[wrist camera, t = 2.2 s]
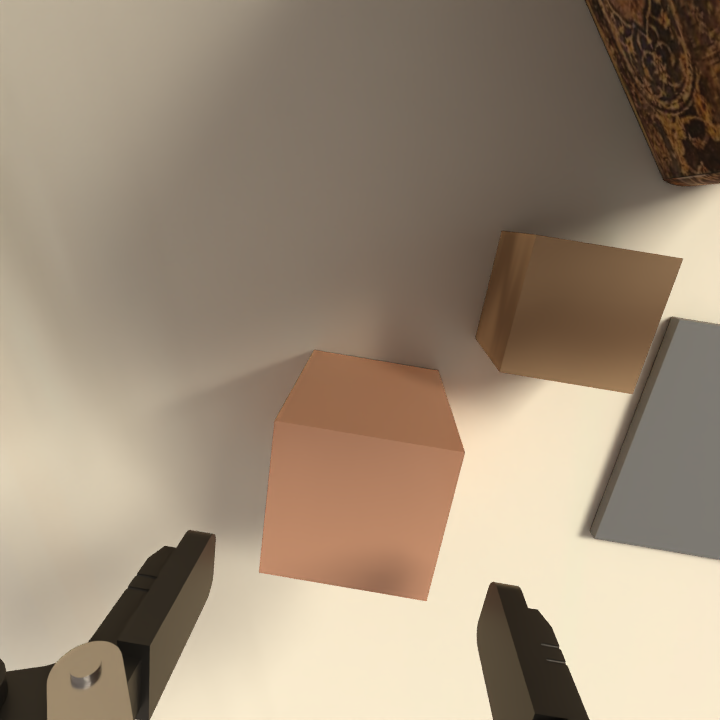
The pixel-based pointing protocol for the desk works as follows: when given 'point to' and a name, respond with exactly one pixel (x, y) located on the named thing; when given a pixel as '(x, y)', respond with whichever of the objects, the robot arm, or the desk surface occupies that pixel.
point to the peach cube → (361, 476)
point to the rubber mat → (671, 452)
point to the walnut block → (573, 310)
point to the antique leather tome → (669, 79)
